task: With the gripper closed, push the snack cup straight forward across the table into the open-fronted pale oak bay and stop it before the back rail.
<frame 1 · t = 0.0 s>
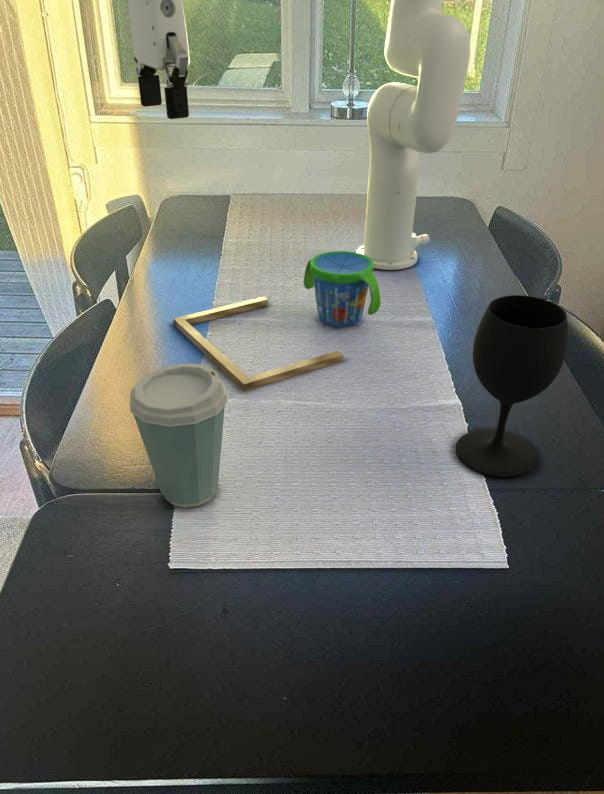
hand: (164, 111, 104), 31 cm above the table, tool pointing down, fingers open, 9 cm apart
snack cup: (339, 320, 121), on the table
bay: (259, 341, 114), on the table
disposable coffee cup: (189, 491, 84), on the table
wine glass: (494, 455, 91), on the table
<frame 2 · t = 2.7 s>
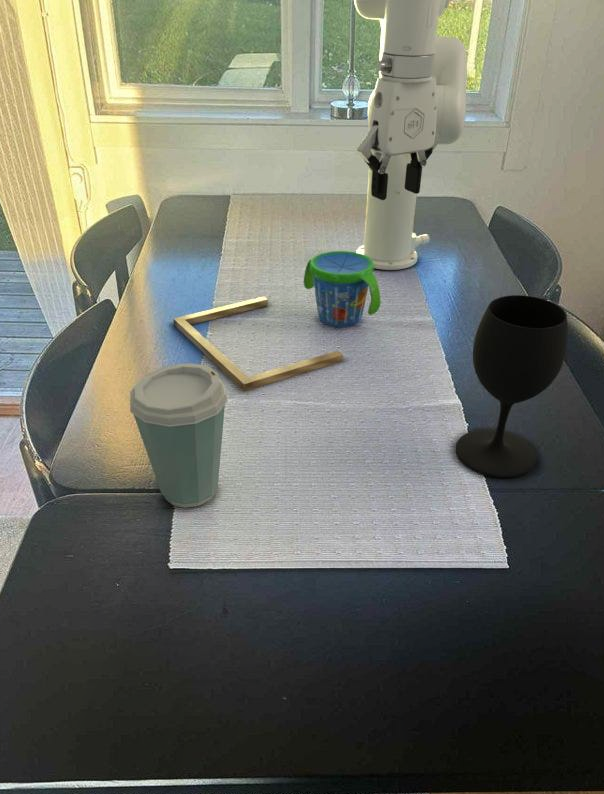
hand: (395, 193, 113), 20 cm above the table, tool pointing down, fingers open, 6 cm apart
nothing on the table moved.
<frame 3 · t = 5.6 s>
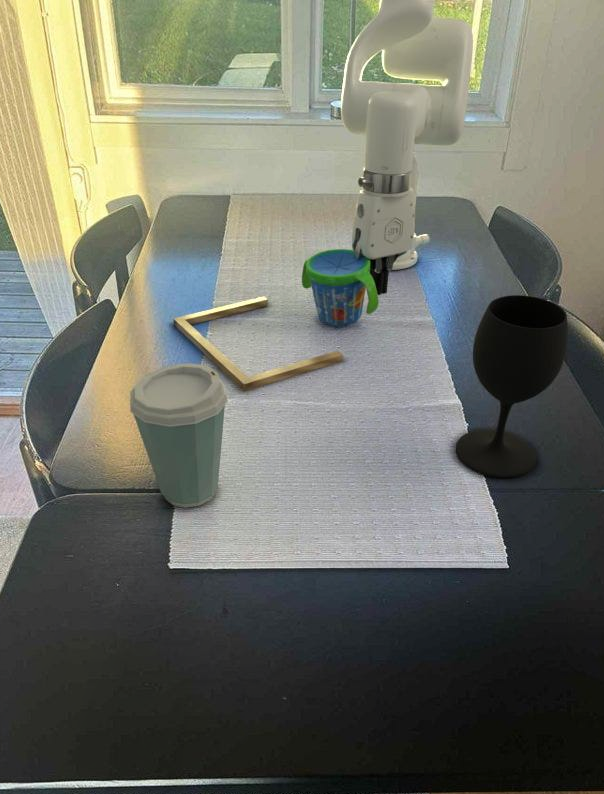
hand: (377, 291, 122), 4 cm above the table, tool pointing down, fingers closed
snack cup: (339, 318, 121), on the table, touching gripper
everything else where it was.
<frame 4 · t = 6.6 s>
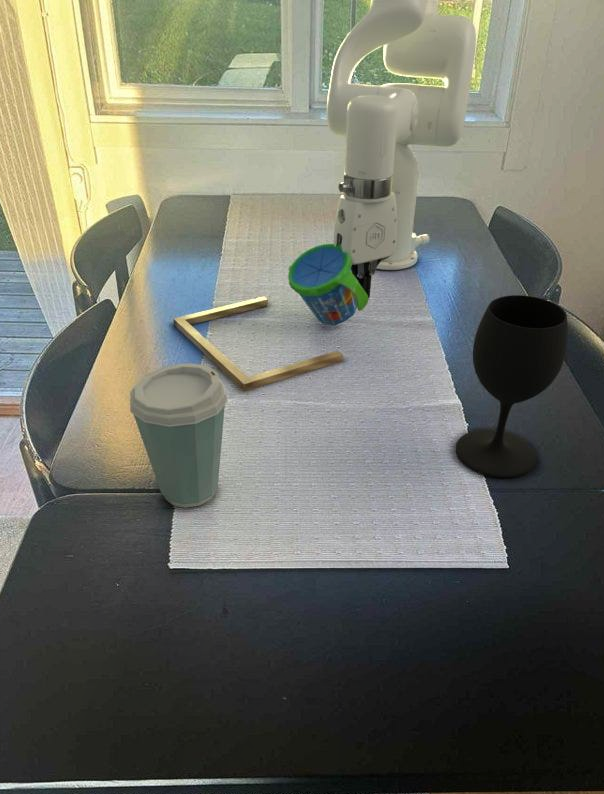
hand: (360, 296, 121), 3 cm above the table, tool pointing down, fingers closed
snack cup: (338, 311, 120), point 1 cm above the table, touching gripper
everything else where it was.
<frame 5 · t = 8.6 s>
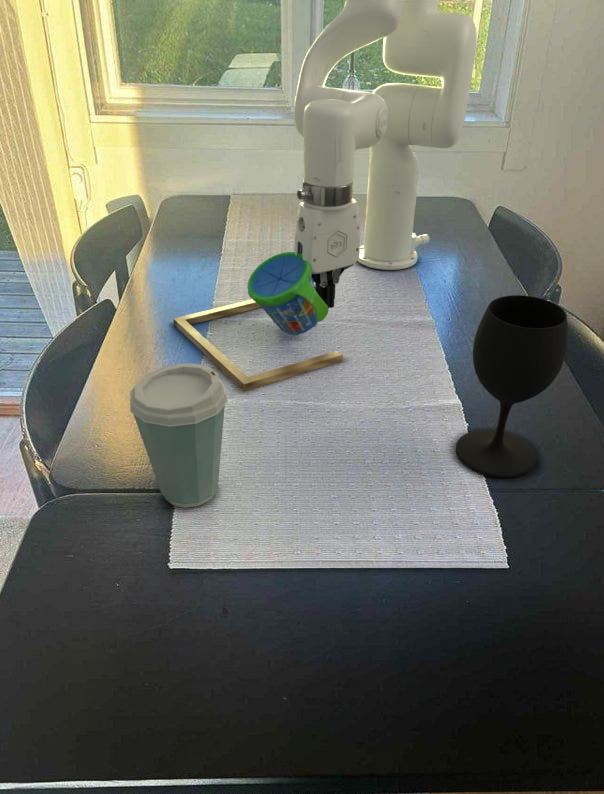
hand: (324, 305, 117), 3 cm above the table, tool pointing down, fingers closed
snack cup: (301, 321, 117), point 2 cm above the table, touching gripper
everything else where it was.
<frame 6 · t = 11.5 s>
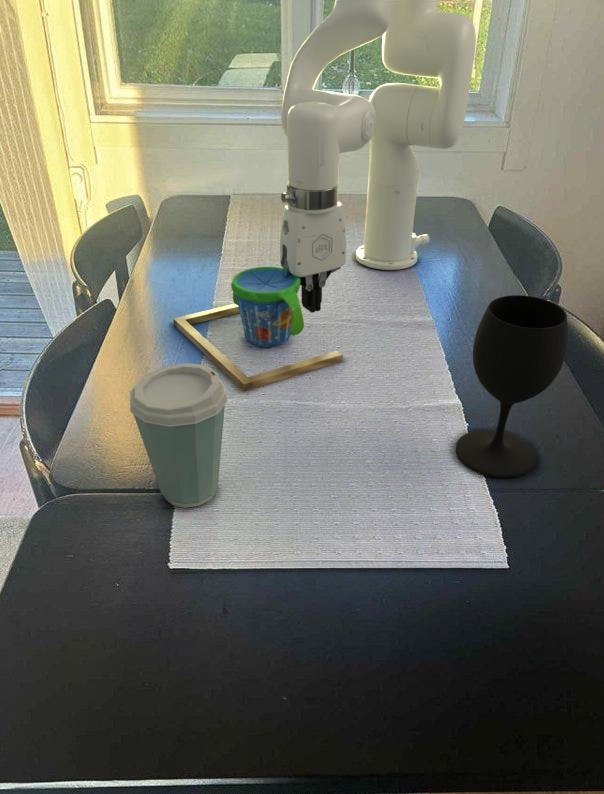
hand: (311, 308, 117), 3 cm above the table, tool pointing down, fingers closed
snack cup: (268, 339, 115), on the table
everything else where it was.
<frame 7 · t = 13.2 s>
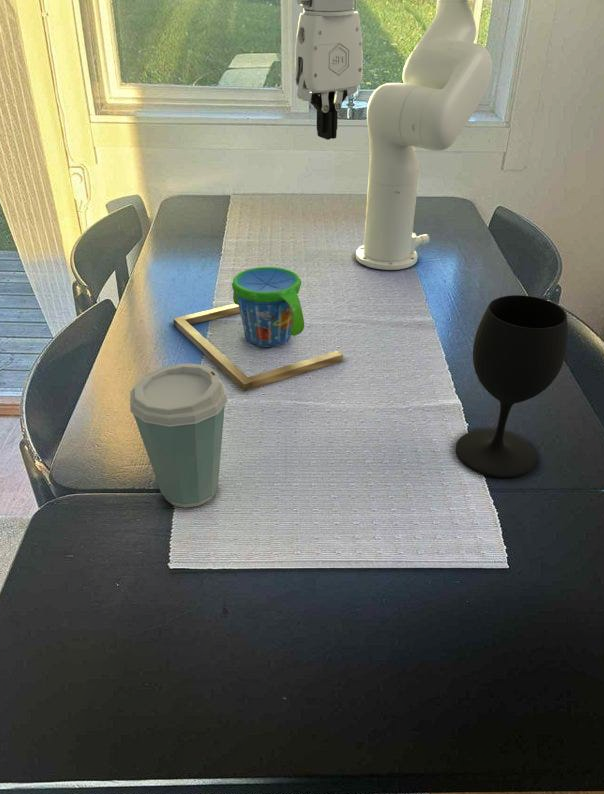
hand: (326, 137, 114), 26 cm above the table, tool pointing down, fingers closed
nothing on the table moved.
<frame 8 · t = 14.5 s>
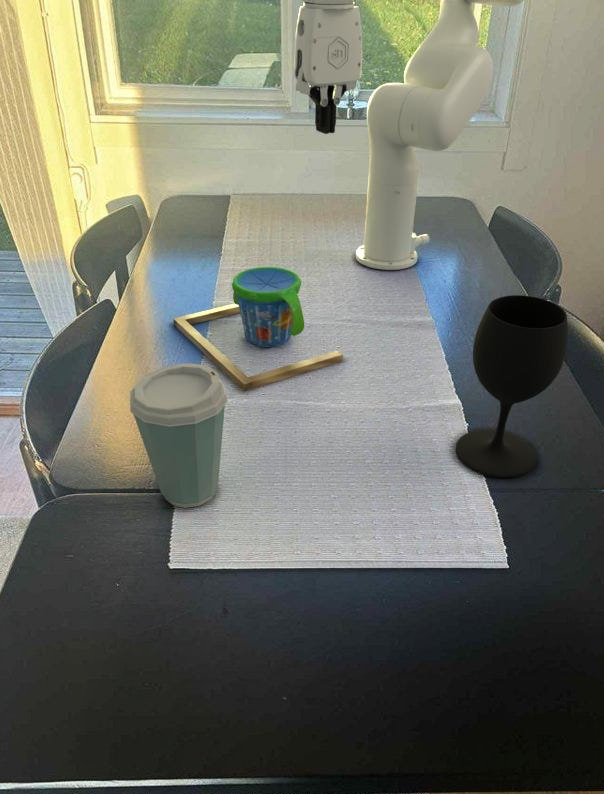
hand: (325, 131, 114), 27 cm above the table, tool pointing down, fingers closed
nothing on the table moved.
at the end: snack cup inside the target area on the bay (2.3 cm from its centre), point 0.0 cm above the bay's base; snack cup tilted 0°; snack cup moved 14.2 cm from its start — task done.
